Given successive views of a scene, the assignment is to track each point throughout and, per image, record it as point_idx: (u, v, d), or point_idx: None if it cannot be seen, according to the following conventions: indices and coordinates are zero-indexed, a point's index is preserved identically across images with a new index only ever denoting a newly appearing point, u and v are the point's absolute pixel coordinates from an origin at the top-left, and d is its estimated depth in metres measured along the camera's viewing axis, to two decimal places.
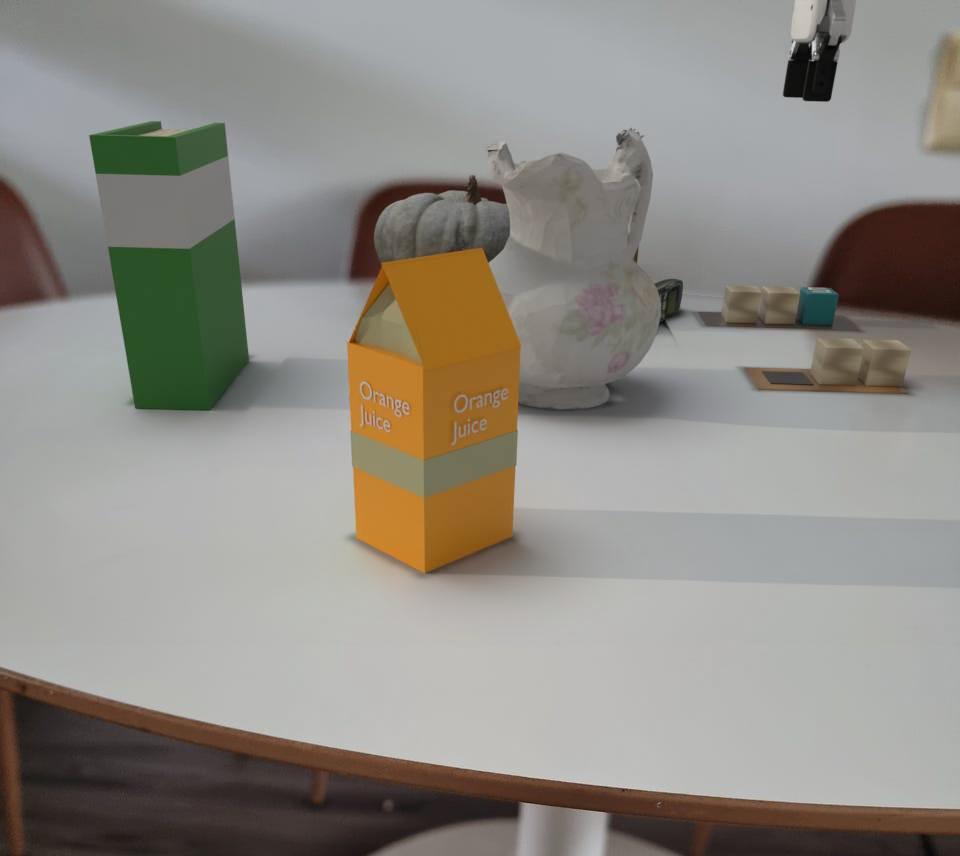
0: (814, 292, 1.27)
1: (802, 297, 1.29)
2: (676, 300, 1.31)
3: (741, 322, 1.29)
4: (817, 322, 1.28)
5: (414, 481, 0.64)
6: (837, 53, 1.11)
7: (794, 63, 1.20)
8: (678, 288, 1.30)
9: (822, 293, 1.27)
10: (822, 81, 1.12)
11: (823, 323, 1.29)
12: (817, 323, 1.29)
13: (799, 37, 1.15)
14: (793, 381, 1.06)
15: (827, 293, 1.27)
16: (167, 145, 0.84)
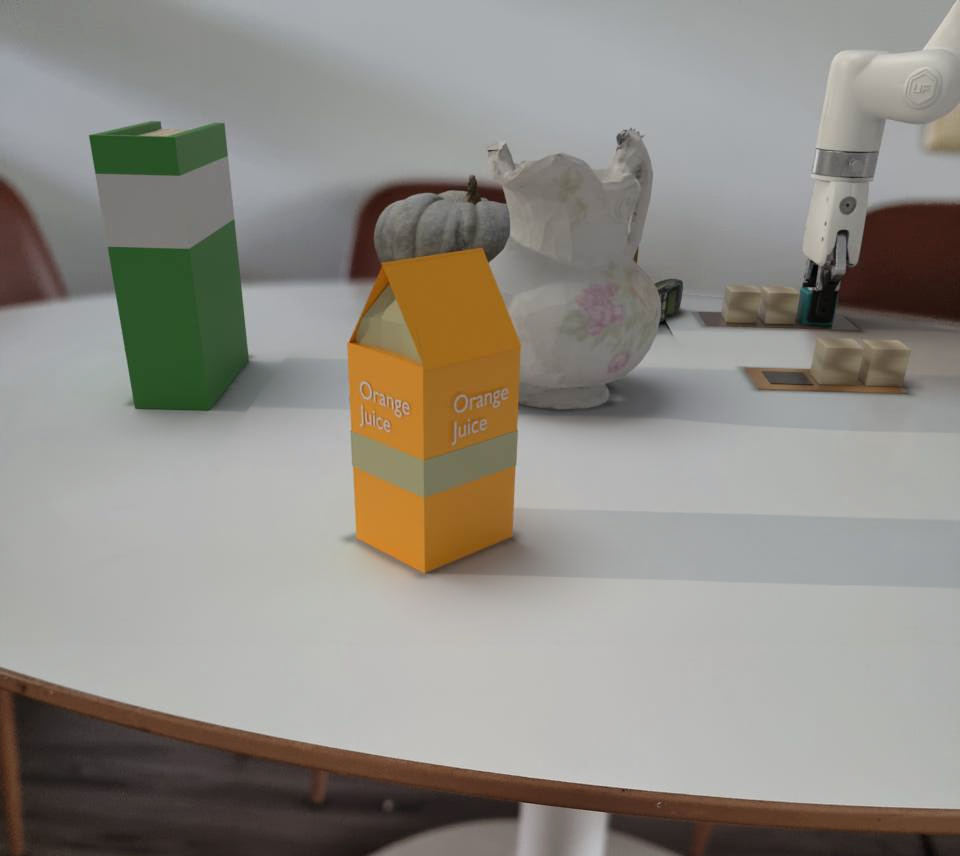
0: None
1: (802, 297, 1.29)
2: (676, 300, 1.31)
3: (741, 322, 1.29)
4: None
5: (414, 481, 0.64)
6: (837, 288, 1.25)
7: (808, 285, 1.30)
8: (678, 288, 1.30)
9: None
10: (824, 307, 1.26)
11: (823, 323, 1.29)
12: (817, 323, 1.29)
13: (810, 258, 1.26)
14: (793, 381, 1.06)
15: None
16: (167, 145, 0.84)
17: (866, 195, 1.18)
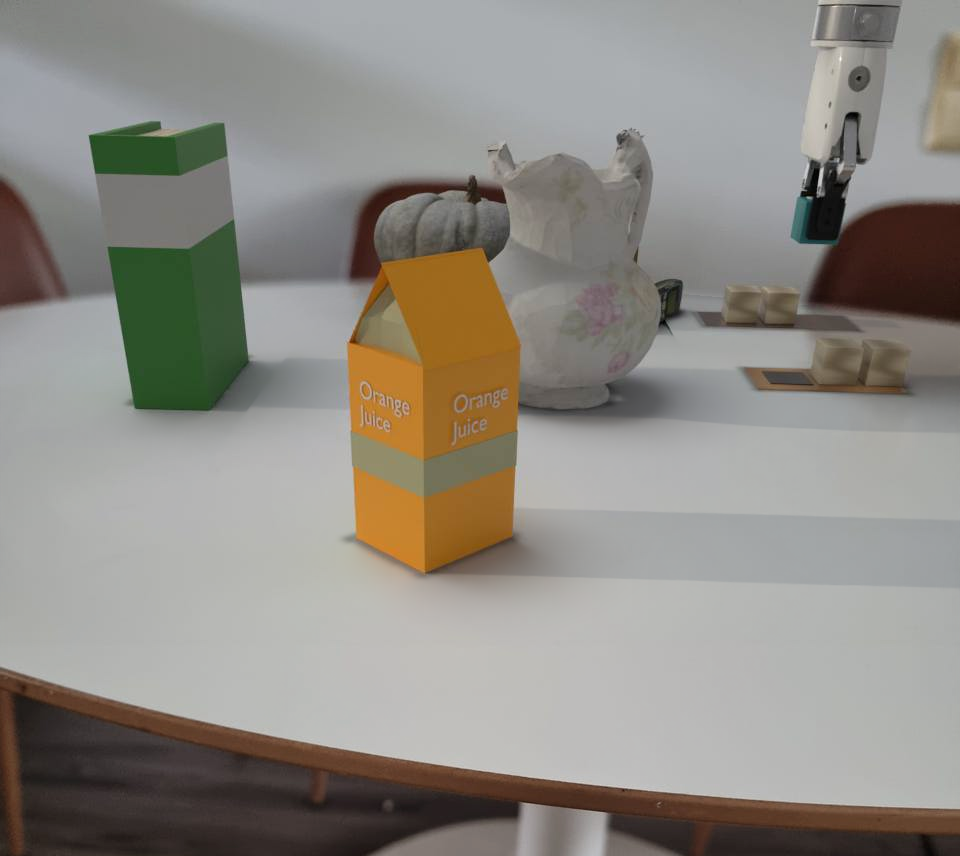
0: None
1: (799, 208, 1.01)
2: (676, 300, 1.31)
3: (741, 322, 1.29)
4: (818, 240, 1.01)
5: (414, 481, 0.64)
6: (845, 193, 0.97)
7: (808, 195, 1.02)
8: (678, 288, 1.30)
9: None
10: (828, 219, 0.98)
11: (826, 241, 1.01)
12: (818, 241, 1.01)
13: (810, 155, 0.98)
14: (793, 381, 1.06)
15: None
16: (166, 145, 0.84)
17: (883, 65, 0.90)
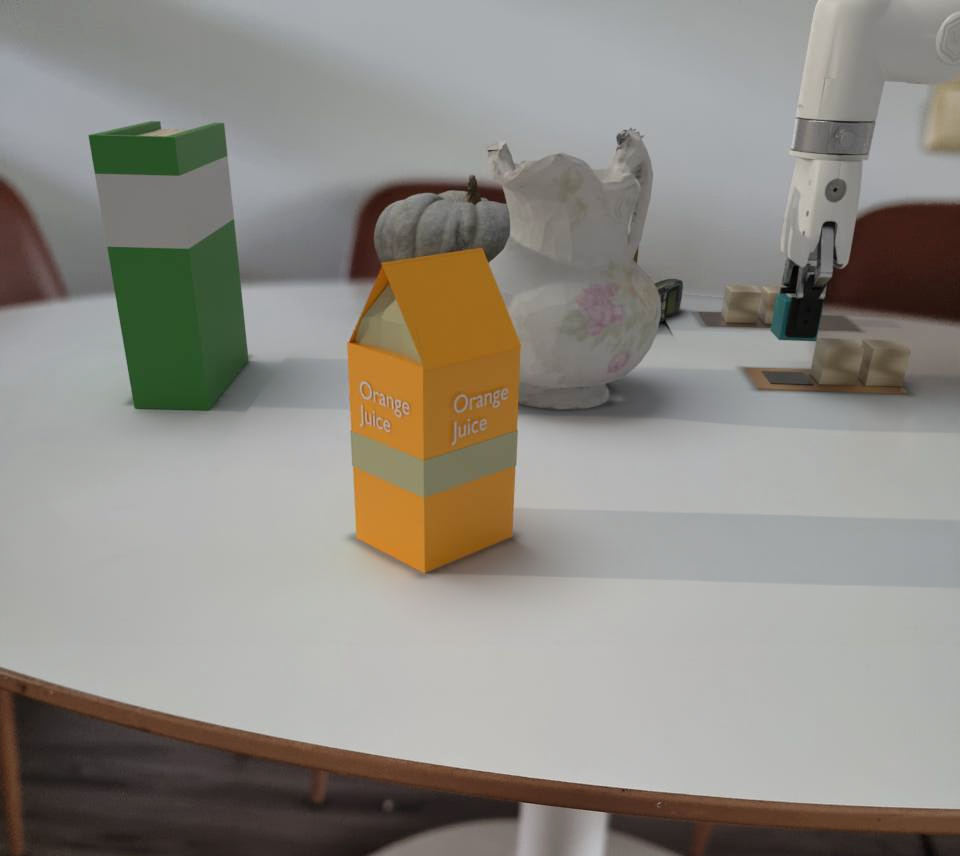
0: None
1: (779, 305, 1.04)
2: (676, 300, 1.31)
3: (741, 322, 1.29)
4: None
5: (414, 481, 0.64)
6: (823, 295, 0.99)
7: (787, 291, 1.05)
8: (678, 288, 1.30)
9: None
10: (806, 319, 1.01)
11: (805, 338, 1.03)
12: (797, 338, 1.03)
13: (789, 257, 1.01)
14: (793, 381, 1.06)
15: None
16: (166, 145, 0.84)
17: (859, 177, 0.93)
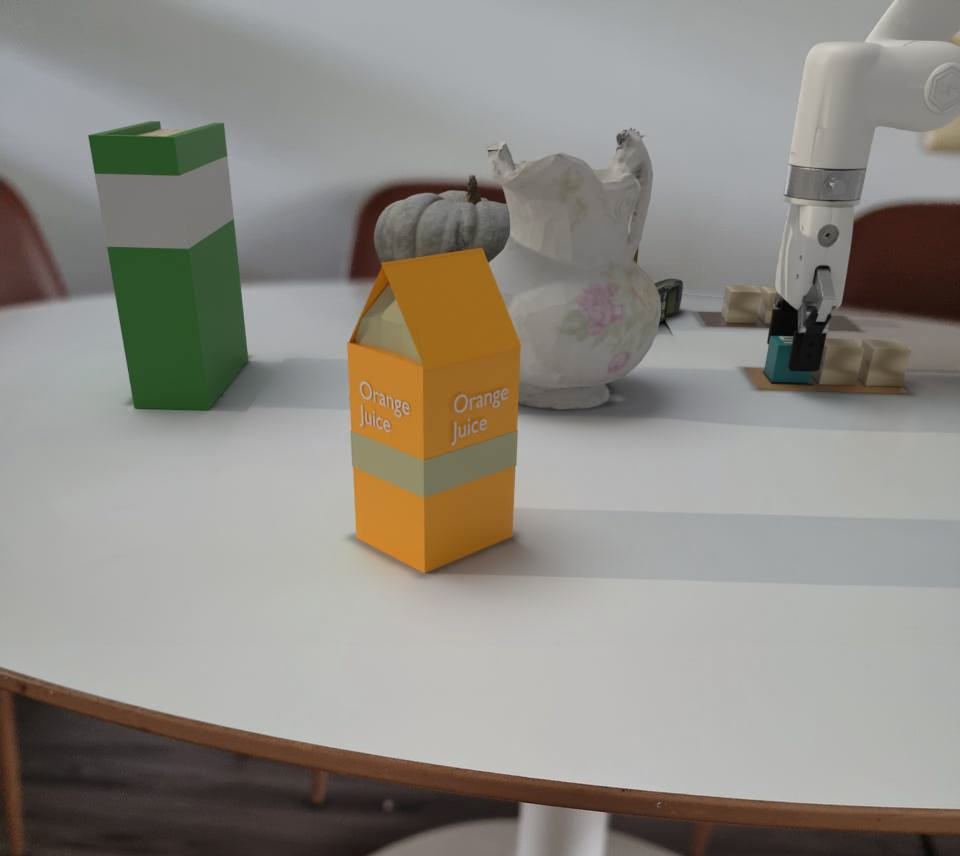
0: (786, 343, 1.04)
1: (772, 348, 1.06)
2: (676, 300, 1.31)
3: (741, 322, 1.29)
4: (790, 379, 1.06)
5: (414, 481, 0.64)
6: (826, 326, 0.99)
7: (779, 313, 1.08)
8: (678, 288, 1.30)
9: None
10: (809, 353, 1.00)
11: (797, 380, 1.06)
12: (790, 380, 1.06)
13: (784, 297, 1.03)
14: None
15: None
16: (166, 145, 0.84)
17: (851, 223, 0.95)
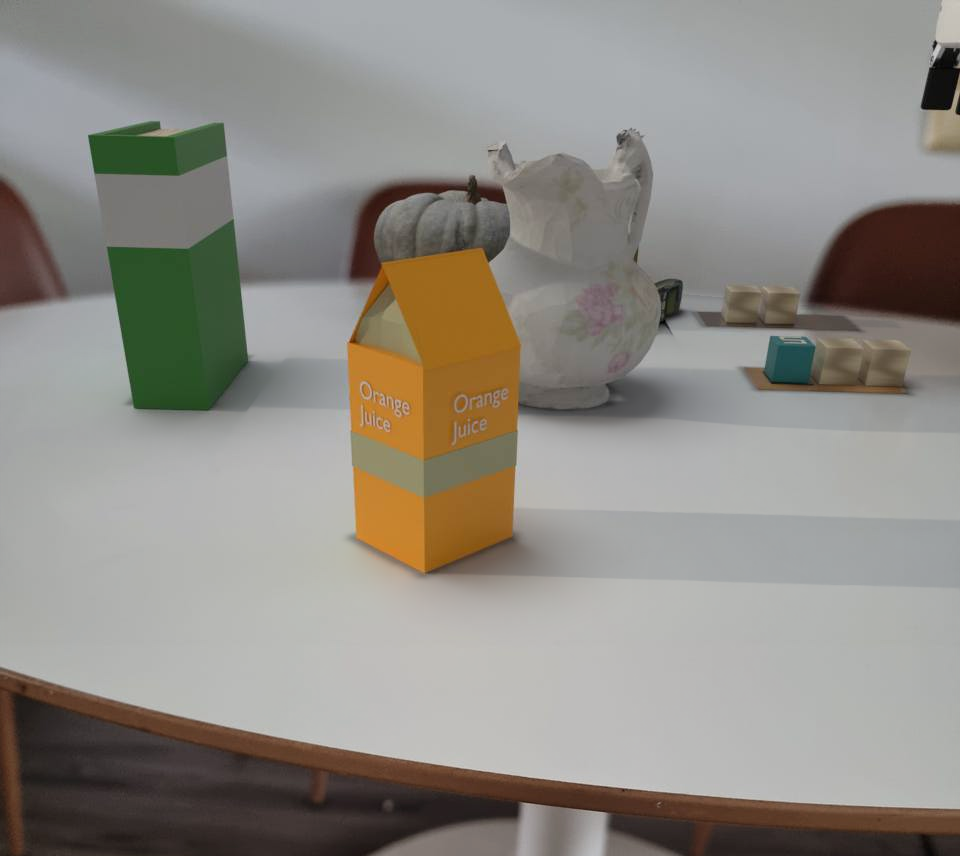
0: (786, 343, 1.04)
1: (772, 348, 1.06)
2: (676, 300, 1.31)
3: (741, 322, 1.29)
4: (790, 379, 1.06)
5: (414, 481, 0.64)
6: None
7: (937, 71, 1.04)
8: (678, 288, 1.31)
9: (795, 344, 1.04)
10: None
11: (797, 380, 1.06)
12: (790, 380, 1.06)
13: (950, 41, 0.99)
14: None
15: (801, 344, 1.04)
16: (166, 145, 0.84)
17: None
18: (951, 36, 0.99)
